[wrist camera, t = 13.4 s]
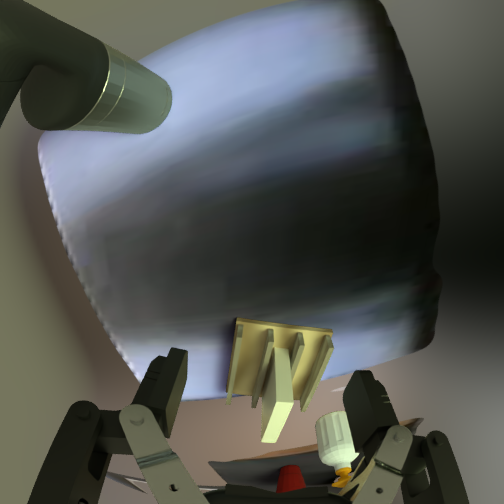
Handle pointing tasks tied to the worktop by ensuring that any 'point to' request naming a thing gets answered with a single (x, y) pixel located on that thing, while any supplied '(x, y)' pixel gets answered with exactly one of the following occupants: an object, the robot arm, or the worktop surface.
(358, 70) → the worktop surface
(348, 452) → the soap bottle
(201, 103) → the worktop surface
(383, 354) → the worktop surface
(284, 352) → the pale green flat slab
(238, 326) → the dish rack
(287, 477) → the plastic cup
